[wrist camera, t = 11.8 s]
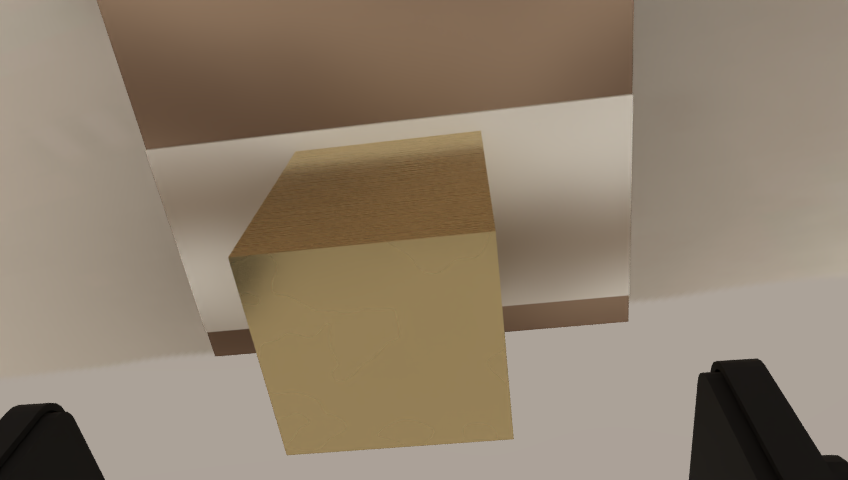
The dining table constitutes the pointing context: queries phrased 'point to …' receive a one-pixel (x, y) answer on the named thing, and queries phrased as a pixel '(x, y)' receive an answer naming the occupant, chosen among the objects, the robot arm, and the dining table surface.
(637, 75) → the dining table surface
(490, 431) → the tan wooden cube
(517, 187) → the balance beam
